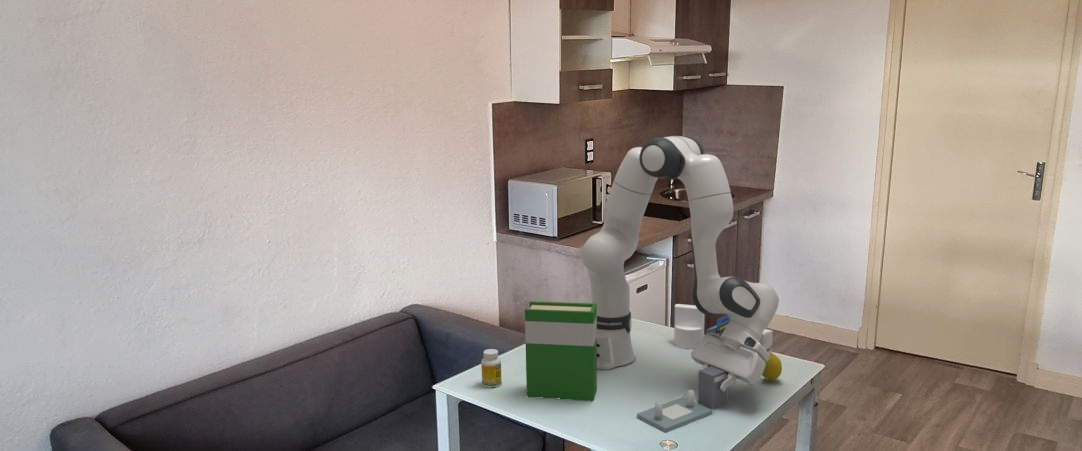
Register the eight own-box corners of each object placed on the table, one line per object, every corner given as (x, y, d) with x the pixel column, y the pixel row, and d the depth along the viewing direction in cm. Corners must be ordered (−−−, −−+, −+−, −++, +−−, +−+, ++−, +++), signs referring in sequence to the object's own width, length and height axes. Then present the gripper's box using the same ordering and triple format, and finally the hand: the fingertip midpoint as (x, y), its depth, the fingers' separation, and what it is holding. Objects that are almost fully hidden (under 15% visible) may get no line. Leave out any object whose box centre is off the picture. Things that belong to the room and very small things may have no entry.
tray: (665, 432, 188) (666, 412, 187) (636, 417, 196) (637, 398, 195) (712, 413, 198) (712, 395, 196) (682, 400, 205) (683, 382, 204)
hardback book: (526, 397, 209) (524, 309, 204) (532, 385, 216) (530, 301, 211) (593, 401, 206) (593, 312, 201) (596, 389, 213) (596, 303, 208)
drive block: (711, 409, 200) (712, 375, 198) (697, 403, 204) (698, 370, 202) (727, 403, 203) (728, 370, 201) (713, 397, 207) (714, 364, 205)
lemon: (777, 387, 213) (779, 358, 211) (757, 382, 215) (758, 355, 214) (783, 379, 217) (784, 352, 215) (763, 375, 220) (764, 348, 218)
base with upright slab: (671, 347, 243) (672, 309, 240) (677, 337, 251) (677, 300, 248) (701, 350, 240) (702, 312, 237) (705, 340, 248) (706, 303, 245)
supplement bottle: (485, 379, 221) (484, 347, 219) (504, 381, 220) (503, 348, 218) (479, 387, 216) (478, 354, 214) (498, 389, 214) (497, 355, 212)
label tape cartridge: (720, 348, 241) (722, 309, 238) (732, 351, 238) (733, 312, 236) (704, 356, 235) (705, 316, 232) (716, 359, 232) (717, 319, 230)
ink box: (772, 369, 224) (774, 330, 222) (761, 374, 221) (763, 334, 218) (747, 361, 231) (748, 322, 228) (736, 365, 227) (737, 326, 225)
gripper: (702, 324, 212) (675, 367, 209) (764, 345, 196) (736, 393, 192) (713, 336, 216) (687, 379, 212) (775, 358, 199) (748, 405, 196)
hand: (711, 386), depth 202 cm, fingers closed on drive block, 4 cm apart
